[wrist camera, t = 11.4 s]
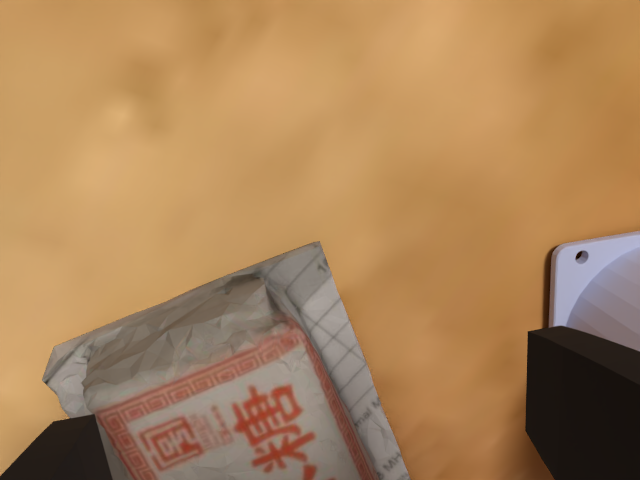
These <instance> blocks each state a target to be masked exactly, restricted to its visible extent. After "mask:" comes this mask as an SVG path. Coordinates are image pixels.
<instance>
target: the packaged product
mask: <svg viewBox="0 0 640 480" xmlns="http://www.w3.org/2000/svg"><path fill="white" fill-rule="evenodd" d="M42 381H43V382H44V383H45V384H46V385H47V386H48V387H49V388H50V389H51V390H52V391H53V392H54V393H55V394H57V396H58V398H59V401H60V404H61V407H62V409H63V410H64V411H65V413H66V414H67V415H68V416H69V417H70V418H76V417H81V416H86V415H91V414H95V417H96V421H97V425H98V428H99V432H100V435H101V439H102V443H103V446H104V450H105V454H106V457H107V461H108V464H109V468H110V472H111V475H112V479H113V480H411V479H410V477H409V474H408V472H407V469H406V467H405V464H404V462H403V459H402V456H401V452H400V450H399V447H398V445H397V442H396V440H395V437H394V435H393V432H392V430H391V428H390V425H389V423H388V421H387V418H386V416H385V413H384V411H383V408H382V406H381V402H380V400H379V398H378V395H377V392H376V390H375V387H374V385H373V381H372V377H371V373H370V370H369V368H368V365H367V363H366V360H365V358H364V355H363V353H362V350H361V348H360V345H359V343H358V340H357V338H356V335H355V333H354V330H353V328H352V325H351V323H350V320H349V318H348V315H347V313H346V310H345V308H344V305H343V303H342V300H341V298H340V296H339V294H338V292H337V289H336V286H335V283H334V280H333V277H332V274H331V271H330V268H329V266H328V263H327V260H326V257H325V255H324V252H323V249H322V247H321V244H320V241H318V242H313V243H310V244H307V245H305V246H302V247H299V248H297V249H294V250H291V251H289V252H286V253H283V254H281V255H278V256H276V257H273V258H270V259H268V260H265V261H263V262H260V263H257V264H255V265H252V266H250V267H247V268H245V269H242V270H239V271H237V272H234V273H232V274H229V275H226V276H224V277H221V278H219V279H216V280H214V281H212V282H209V283H207V284H204V285H202V286H199V287H197V288H195V289H192V290H190V291H188V292H185V293H183V294H181V295H179V296H177V297H175V298H173V299H170V300H168V301H166V302H164V303H161V304H159V305H156V306H153V307H151V308H148V309H145V310H142V311H140V312H137V313H134V314H132V315H129V316H127V317H124V318H122V319H120V320H117V321H115V322H112V323H110V324H107V325H105V326H103V327H100V328H98V329H95V330H93V331H91V332H88V333H86V334H83V335H81V336H79V337H76V338H74V339H71V340H69V341H66V342H64V343H62V344H59V345H57V346H54V348H53V350H52V353H51V356H50V359H49V362H48V364H47V367H46V370H45V373H44V376H43V379H42Z"/></svg>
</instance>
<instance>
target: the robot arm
mask: <svg viewBox="0 0 640 480" xmlns="http://www.w3.org/2000/svg"><path fill="white" fill-rule="evenodd" d="M580 251H582V255H581V257H580V258H579V259H577V260H575V257H576V255H577V253H578V252H580ZM526 432H527V434H528V436H529V437H530V439H531V441H532V443H533V444H534V446H535V448H536V449H537V451H538V453H539V455H540V456H541V458H542V460H543V461H544V463H545V464H546V466H547V468H548V469H549V471H550V472H551V474H552V476H553V477H554V479H555V480H640V231H636V232H630V233H624V234H618V235H612V236H606V237H600V238H594V239H588V240H582V241H576V242H570V243H564V244H562V245H559V246H558V247H557V248H556V249H555V250H554V252H553V253H552V258H551V281H550V308H549V328H544V329H539V330H534V331H528V350H527V391H526ZM0 480H113V479H112V475H111V472H110V468H109V464H108V461H107V457H106V454H105V450H104V446H103V443H102V439H101V435H100V432H99V428H98V425H97V421H96V417H95V414H91V415H86V416H81V417H76V418H70V419H65V420H60V421H54V422H53V423H52V424H51V425H49V426H48V427H47V428H46V429H45V430H44V431H43V432H42V433H41V434H40V435H39V436H38V437H37V438H36V439H35V440H34V441H33V442H32V443H31V444H30V446H29V447H28V448H27V449H26V450H25V451H24V452H23V453H22V454H21V455H20V456H19V457H18V458H17V459H16V460H15V461H14V462H13V463H12V465H11V466H10V467H9V468H8V469H7V470H6V471H5V472H4V473H3V474H2V475H1V476H0Z"/></svg>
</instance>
